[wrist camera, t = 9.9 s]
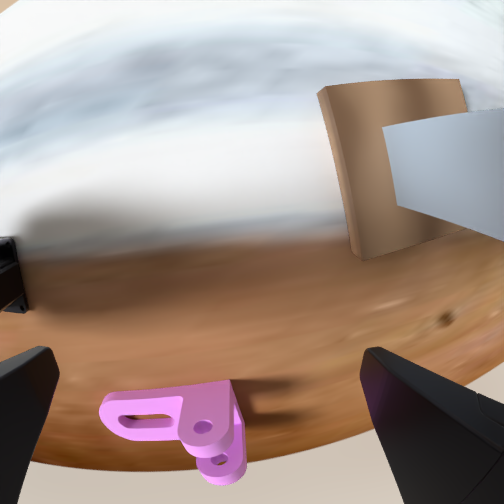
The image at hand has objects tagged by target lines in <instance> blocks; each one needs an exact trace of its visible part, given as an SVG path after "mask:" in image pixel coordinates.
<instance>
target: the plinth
mask: <svg viewBox="0 0 504 504" xmlns="http://www.w3.org/2000/svg"><path fill="white" fill-rule="evenodd" d="M317 96H318V99H319V103H320V107H321V110H322V114H323V118H324V121H325V125H326V129H327V133H328V137H329V141H330V145H331V149H332V153H333V158H334V162H335V166H336V171H337V175H338V180H339V185H340V189H341V194H342V199H343V204H344V210H345V215H346V220H347V226H348V232H349V238H350V244H351V250H352V253H353V254H354V255H356V256H357V257H358V258H360V259H361V260H362V261H365V260H368V259H371V258H375V257H378V256H381V255H385V254H388V253H391V252H395V251H398V250H401V249H404V248H408V247H411V246H414V245H417V244H420V243H423V242H427V241H430V240H433V239H436V238H439V237H442V236H445V235H448V234H451V233H454V232H457V231H460V230H463V229H466V227H463V226H460V225H457V224H454V223H451V222H449V221H446V220H443V219H440V218H437V217H433V216H430V215H427V214H424V213H421V212H418V211H415V210H411V209H408V208H405V207H401V206H398V205H397V201H396V195H395V189H394V183H393V177H392V172H391V166H390V161H389V156H388V151H387V147H386V142H385V138H384V133H383V129H382V127H386V126H390V125H395V124H400V123H406V122H411V121H416V120H422V119H427V118H433V117H439V116H446V115H452V114H459V113H466V112H467V108H466V103H465V99H464V96H463V92H462V88H461V85H460V81H459V79H400V80H382V81H369V82H358V83H348V84H340V85H332V86H325V87H324V88H323V89H322V90H320V91H319V92H318V93H317Z"/></svg>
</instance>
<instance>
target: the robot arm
mask: <svg viewBox="0 0 504 504" xmlns="http://www.w3.org/2000/svg"><path fill="white" fill-rule="evenodd" d="M9 243H10V245H9ZM23 307H24V308H23ZM28 310H29V307H28V303H27V299H26V295H25V291H24V287H23V283H22V278H21V274H20V269H19V264H18V259H17V253H16V248H15V242H14V240H13V238H11V237H6V238H0V313H1V312H2V311H5V312H14V313H23V314H24V313H26V312H27V311H28ZM59 375H60V372H59V368H58V365H57V362H56V360H55V357H54V354H53V351H52V350H51V348H49V347H45V346H37V347H35V348H32V349H30V350H28V351H25V352H23V353H21V354H18V355H16V356H14V357H11V358H9V359H7V360H4V361H2V362H0V504H17V502H18V499H19V495H20V492H21V488H22V485H23V482H24V479H25V475H26V472H27V469H28V466H29V463H30V460H31V458H32V455H33V452H34V449H35V446H36V444H37V441H38V438H39V436H40V433H41V431H42V428H43V425H44V423H45V420H46V418H47V415H48V412H49V408H50V405H51V402H52V398H53V395H54V392H55V389H56V386H57V383H58V380H59ZM360 381H361V384H362V387H363V391H364V394H365V398H366V401H367V405H368V409H369V412H370V416H371V419H372V422H373V425H374V428H375V430H376V433H377V435H378V438H379V440H380V442H381V445H382V447H383V450H384V452H385V455H386V457H387V460H388V462H389V465H390V467H391V470H392V473H393V475H394V477H395V480H396V483H397V486H398V488H399V491H400V494H401V496H402V499H403V502H404V504H504V404H502V403H500V402H498V401H495V400H493V399H491V398H488V397H486V396H484V395H482V394H479V393H478V394H477V393H476V392H475V391H473V390H470V389H468V388H466V387H464V386H462V385H460V384H457V383H455V382H453V381H451V380H449V379H447V378H444V377H442V376H440V375H438V374H436V373H434V372H432V371H430V370H427V369H425V368H423V367H421V366H419V365H417V364H415V363H413V362H411V361H408V360H406V359H404V358H402V357H400V356H398V355H396V354H394V353H392V352H390V351H388V350H386V349H384V348H382V347H372V348H367V349H366V350H365V352H364V355H363V360H362V365H361V369H360Z"/></svg>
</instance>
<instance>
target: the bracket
mask: <svg viewBox="0 0 504 504" xmlns="http://www.w3.org/2000/svg"><path fill="white" fill-rule="evenodd" d="M145 414H166V415H169V416H171V417H172V418H161V419H139V420H133V419H129V418H127V417H125V416H124V415H145ZM99 415H100V418H101V420H102V422H103V423H104V425H105V426H106V427H107V428H108V429H110V430H111V431H112V432H114V433H115V434H117V435H119V436H121V437H123V438H126V439H129V440H135V441H160V440H181V442H182V443H183V445H184V447H185V448H186V450H187V451H188V452H189V453H190V454H191V455H193V456H196V457H197V459H196V464H197V467H198V469H199V471H200V472H201V474H202V475H203V477H204V478H205V479H206V480H207V481H208V482H210V483H212V484H215V485H229V484H232V483H234V482H236V481H238V480H239V479H240V478H241V477H242V476H243V475H244V473H245V471H246V468H247V460H246V441H245V423H244V420H243V417H242V414H241V411H240V409H239V406H238V403H237V400H236V397H235V394H234V391H233V388H232V385H231V382H230V379H229V380H223V381H216V382H209V383H202V384H195V385H187V386H178V387H169V388H159V389H147V390H134V391H117V392H112V393H110V394H108V395H107V396H106V397H105V398H104V400H103V402H102V404H101V406H100V409H99ZM223 461H227V462H226V463H225V464H223V465H220V466H217V464H218V463H220V462H223Z"/></svg>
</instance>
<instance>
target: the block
mask: <svg viewBox="0 0 504 504" xmlns="http://www.w3.org/2000/svg"><path fill="white" fill-rule="evenodd" d="M382 129H383V133H384V138H385V142H386V147H387V151H388V156H389V161H390V166H391V172H392V177H393V183H394V189H395V195H396V201H397V205H398V206H401V207H405V208H408V209H411V210H415V211H418V212H421V213H424V214H427V215H430V216H433V217H437V218H440V219H443V220H446V221H449V222H451V223H454V224H457V225H460V226H463V227H466V228H469V229H471V230H474V231H477V232H480V233H482V234H485V235H488V236H490V237H493V238H495V239H498V240H501V241H503V242H504V108H500V109H490V110H482V111H473V112H466V113H459V114H452V115H446V116H439V117H433V118H427V119H422V120H416V121H411V122H406V123H400V124H395V125H390V126H386V127H382Z"/></svg>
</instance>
